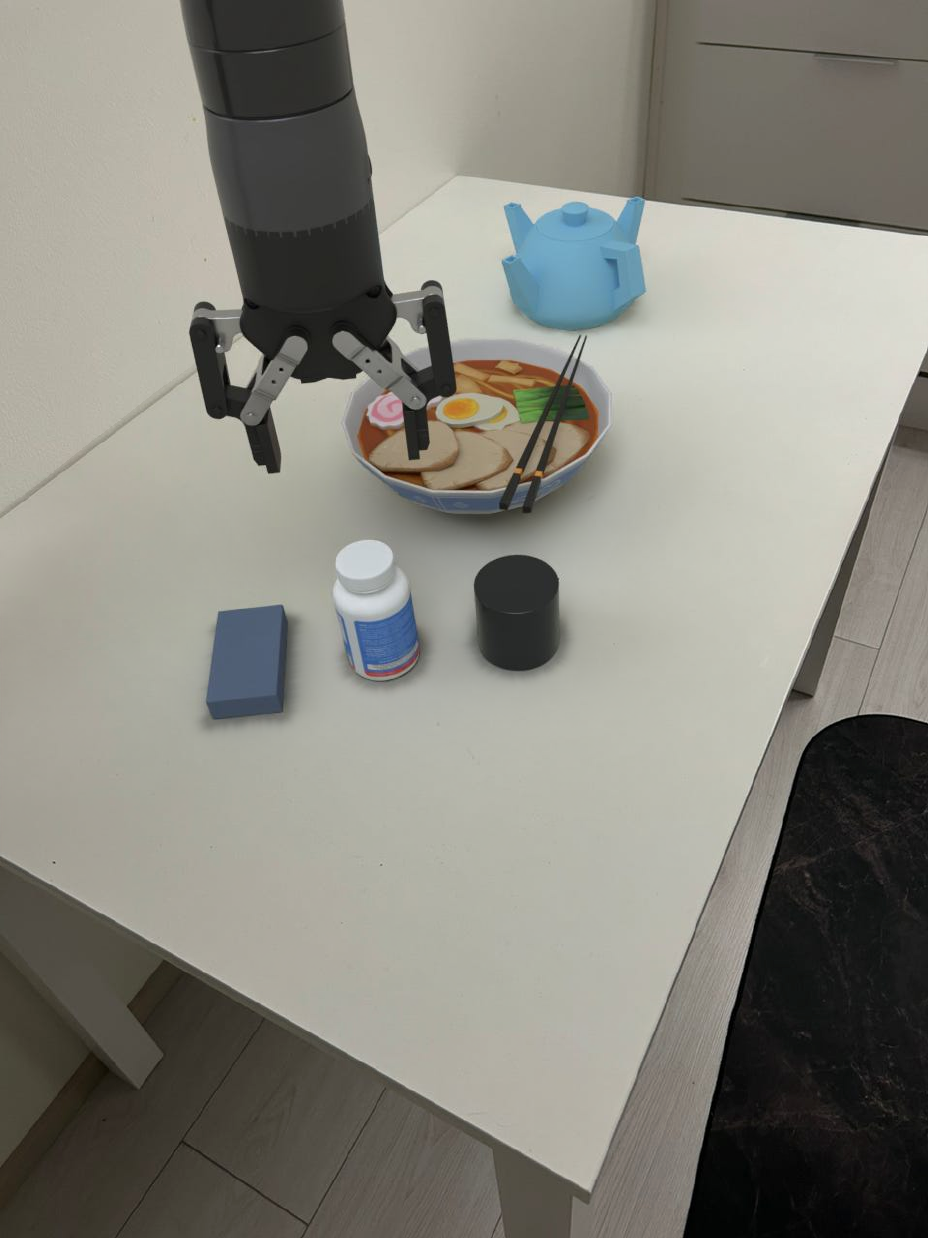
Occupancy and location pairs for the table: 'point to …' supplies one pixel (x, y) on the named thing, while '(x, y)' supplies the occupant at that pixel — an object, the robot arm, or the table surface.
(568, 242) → the teapot
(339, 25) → the robot arm
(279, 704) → the blue rectangular block
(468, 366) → the ramen bowl
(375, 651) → the pill bottle
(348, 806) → the table surface
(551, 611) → the black cylinder
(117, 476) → the table surface
